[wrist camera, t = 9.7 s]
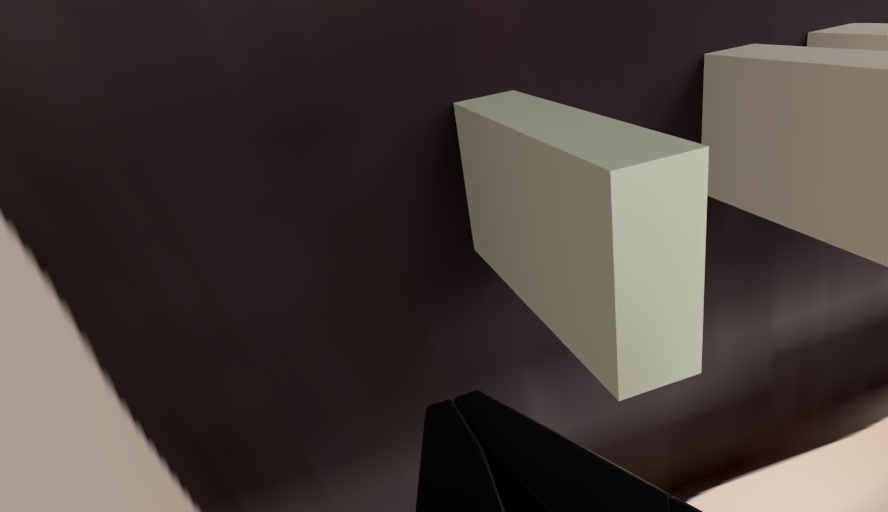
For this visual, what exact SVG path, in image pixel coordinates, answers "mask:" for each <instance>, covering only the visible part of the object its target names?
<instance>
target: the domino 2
mask: <svg viewBox="0 0 888 512" xmlns="http://www.w3.org/2000/svg"><path fill="white" fill-rule="evenodd" d="M701 144H703V145H706V146H709V162H708V191H707V196H709V197H712V198H714V199H717V200H719V201H722V202H725V203H727V204H730V205H732V206H735V207H737V208H740V209H742V210H745V211H747V212H750V213H752V214H755V215H757V216H760V217H763V218H765V219H768V220H770V221H773V222H775V223H778V224H780V225H783V226H785V227H788V228H790V229H793V230H795V231H798V232H801V233H803V234H806V235H808V236H811V237H813V238H816V239H818V240H821V241H823V242H826V243H828V244H831V245H833V246H836V247H839V248H841V249H844V250H846V251H849V252H851V253H854V254H856V255H859V256H861V257H864V258H866V259H869V260H871V261H874V262H877V263H879V264H882V265H884V266H887V267H888V51H875V50H857V49H839V48H821V47H803V46H785V45H767V44H750V45H745V46H741V47H736V48H731V49H726V50H721V51H717V52H712V53H707V54H704V81H703V111H702V141H701Z"/></svg>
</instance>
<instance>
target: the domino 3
mask: <svg viewBox="0 0 888 512" xmlns="http://www.w3.org/2000/svg"><path fill="white" fill-rule="evenodd" d="M807 47H821V48H839V49H857V50H875V51H888V24H887V23H851V24H847V25H842V26H837V27H832V28H828V29H823V30H818V31H813V32H808V38H807Z"/></svg>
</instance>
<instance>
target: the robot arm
mask: <svg viewBox="0 0 888 512" xmlns="http://www.w3.org/2000/svg"><path fill="white" fill-rule="evenodd" d="M416 512H702V511H700V510H698V509H697V508H695V507H693V506H691V505H689V504H688V503H686V502H684V501H682V500H680V499H678V498H677V497H671V498H670V495H669V494H668V493H667V492H665V491H663V490H662V489H660V488H658V487H656V486H654V485H652V484H651V483H649V482H647V481H645V480H643V479H641V478H640V477H638V476H636V475H634V474H632V473H630V472H629V471H627V470H625V469H623V468H621V467H620V466H618V465H616V464H614V463H612V462H610V461H609V460H607V459H605V458H603V457H601V456H599V455H598V454H596V453H594V452H592V451H590V450H589V449H587V448H585V447H583V446H581V445H579V444H578V443H576V442H574V441H572V440H570V439H568V438H567V437H565V436H563V435H561V434H559V433H557V432H556V431H554V430H552V429H550V428H548V427H547V426H545V425H543V424H541V423H539V422H537V421H536V420H534V419H532V418H530V417H528V416H526V415H525V414H523V413H521V412H519V411H517V410H516V409H514V408H512V407H510V406H508V405H506V404H505V403H503V402H501V401H499V400H497V399H495V398H494V397H492V396H490V395H488V394H486V393H485V392H483V391H479V390H476V391H473V392H470V393H466V394H463V395H460V396H457V397H456V398H455V399H454V401H453V400H450V399H448V400H444V401H441V402H438V403H435V404H432V405H429V406H428V407H427V408H426V411H425V421H424V431H423V441H422V451H421V461H420V472H419V482H418V492H417V502H416Z"/></svg>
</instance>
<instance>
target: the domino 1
mask: <svg viewBox="0 0 888 512" xmlns="http://www.w3.org/2000/svg"><path fill="white" fill-rule="evenodd" d="M453 105H454V112H455V119H456V125H457V132H458V139H459V146H460V153H461V160H462V167H463V174H464V181H465V188H466V195H467V202H468V209H469V216H470V223H471V229H472V236H473V243H474V250H475V251H476V252H477V253H478V254H479V255H480V256H481V257H482V258H483V259H484V260H485V261H486V262H487V263H488V264H489V265H490V266H491V268H492V269H493V270H494V271H495V272H496V273H497V274H498V275H499V276H500V277H501V278H502V279H503V280H504V281H505V282H506V283H507V284H508V285H509V286H510V288H511V289H512V290H513V291H514V292H515V293H516V294H517V295H518V296H519V297H520V298H521V299H522V300H523V301H524V302H525V303H526V304H527V305H528V306H529V307H530V309H531V310H532V311H533V312H534V313H535V314H536V315H537V316H538V317H539V318H540V319H541V320H542V321H543V322H544V323H545V324H546V325H547V326H548V327H549V328H550V330H551V331H552V332H553V333H554V334H555V335H556V336H557V337H558V338H559V339H560V340H561V341H562V342H563V343H564V344H565V345H566V346H567V347H568V348H569V349H570V351H571V352H572V353H573V354H574V355H575V356H576V357H577V358H578V359H579V360H580V361H581V362H582V363H583V364H584V365H585V366H586V367H587V368H588V369H589V371H590V372H591V373H592V374H593V375H594V376H595V377H596V378H597V379H598V380H599V381H600V382H601V383H602V384H603V385H604V386H605V387H606V388H607V389H608V390H609V392H610V393H611V394H612V395H613V396H614V397H615V398H616V399H617V400H618V401H621V400H624V399H627V398H630V397H633V396H636V395H639V394H642V393H644V392H647V391H650V390H653V389H656V388H659V387H662V386H665V385H668V384H671V383H674V382H677V381H679V380H682V379H685V378H688V377H691V376H694V375H697V374H700V373H701V365H702V336H703V307H704V278H705V249H706V220H707V191H708V162H709V146H706V145H703V144H699V143H696V142H692V141H689V140H685V139H682V138H678V137H675V136H671V135H668V134H664V133H661V132H657V131H654V130H650V129H647V128H643V127H640V126H636V125H633V124H629V123H626V122H622V121H619V120H615V119H612V118H608V117H605V116H601V115H598V114H594V113H591V112H587V111H584V110H580V109H577V108H573V107H570V106H566V105H563V104H559V103H556V102H552V101H549V100H545V99H542V98H538V97H535V96H531V95H528V94H524V93H521V92H517V91H514V90H512V91H507V92H503V93H498V94H493V95H489V96H484V97H479V98H474V99H470V100H465V101H460V102H456V103H453Z"/></svg>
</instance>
